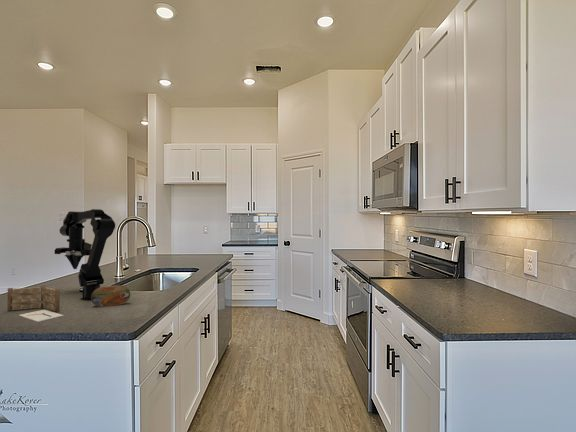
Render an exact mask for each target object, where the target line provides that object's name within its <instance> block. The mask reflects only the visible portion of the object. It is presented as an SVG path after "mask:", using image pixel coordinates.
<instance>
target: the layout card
mask: <svg viewBox="0 0 576 432" xmlns="http://www.w3.org/2000/svg"><path fill="white" fill-rule="evenodd" d="M18 316H20V317H22V318H25V319H28V320H30V321H34V322H37V323H38V322H39V323H40V322H43V321H47V320H51V319H57V318H60V317H64V314H61V313H59V312H55V311H51V310H48V309H41V310H36V311H31V312H27V313H22V314H21V313H20V314H19V315H18Z"/></svg>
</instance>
